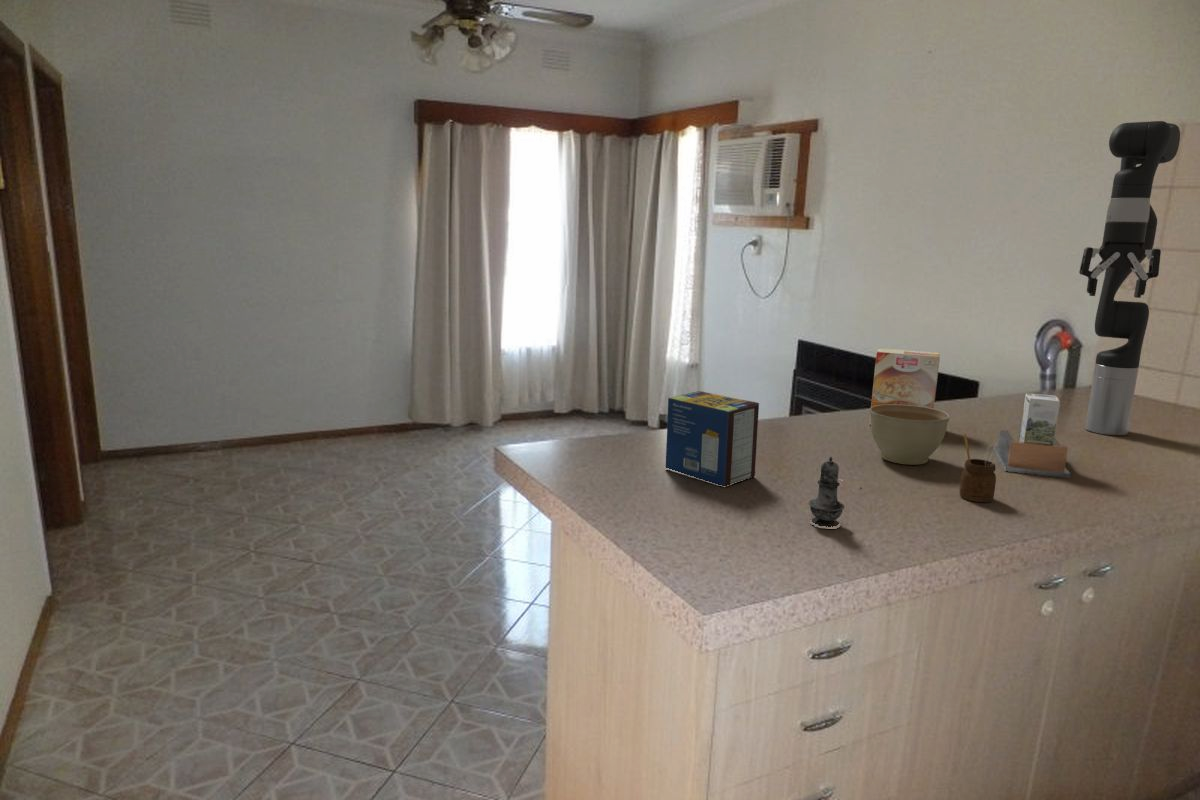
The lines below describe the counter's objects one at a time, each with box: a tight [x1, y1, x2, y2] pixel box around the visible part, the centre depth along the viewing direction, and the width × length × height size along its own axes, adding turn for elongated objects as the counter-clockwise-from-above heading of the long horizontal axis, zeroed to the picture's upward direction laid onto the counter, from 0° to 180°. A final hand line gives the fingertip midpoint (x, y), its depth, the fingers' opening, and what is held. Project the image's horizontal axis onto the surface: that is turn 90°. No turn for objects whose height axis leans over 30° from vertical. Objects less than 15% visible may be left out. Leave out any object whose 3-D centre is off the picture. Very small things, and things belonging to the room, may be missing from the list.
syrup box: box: [1018, 393, 1061, 445], centre depth 168 cm, size 6×6×14 cm
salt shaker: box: [808, 456, 845, 527], centre depth 132 cm, size 6×6×12 cm
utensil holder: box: [959, 433, 1000, 503], centre depth 147 cm, size 6×6×12 cm
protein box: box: [665, 390, 760, 486], centre depth 158 cm, size 10×15×16 cm
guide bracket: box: [993, 429, 1071, 479], centre depth 171 cm, size 18×12×6 cm, turn 161°
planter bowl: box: [869, 404, 950, 466], centre depth 171 cm, size 16×16×11 cm
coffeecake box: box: [868, 347, 941, 424], centre depth 200 cm, size 15×7×20 cm, turn 68°
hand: (1114, 296), depth 170 cm, fingers open, 8 cm apart
